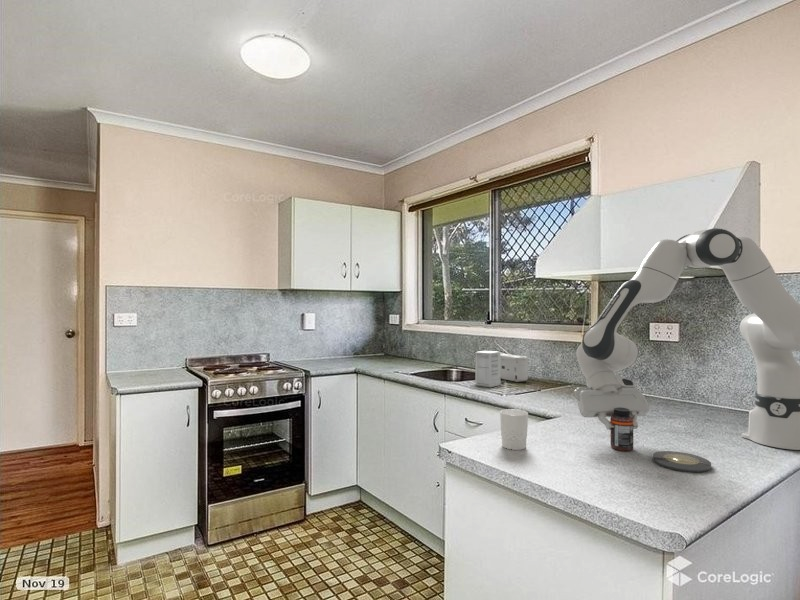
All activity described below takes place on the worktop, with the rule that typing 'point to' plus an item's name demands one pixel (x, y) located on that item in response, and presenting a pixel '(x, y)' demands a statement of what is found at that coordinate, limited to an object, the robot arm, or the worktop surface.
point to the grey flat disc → (681, 461)
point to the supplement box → (487, 368)
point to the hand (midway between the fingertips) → (623, 428)
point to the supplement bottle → (622, 430)
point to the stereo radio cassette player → (513, 367)
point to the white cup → (514, 428)
